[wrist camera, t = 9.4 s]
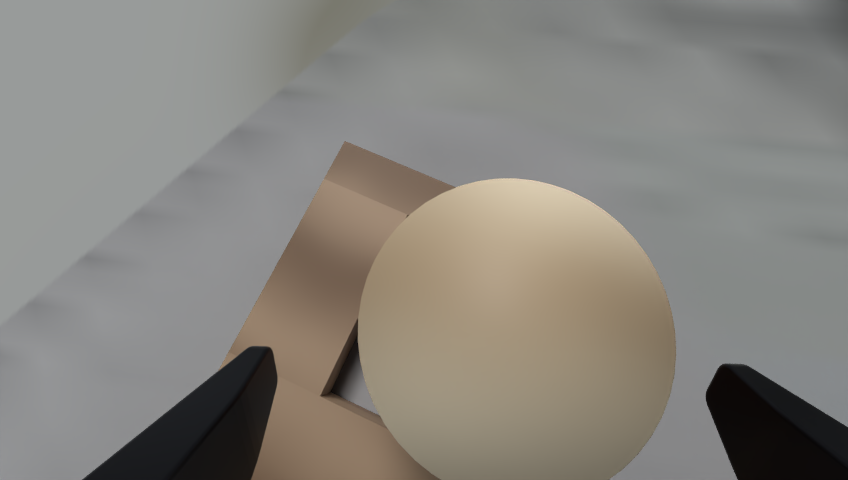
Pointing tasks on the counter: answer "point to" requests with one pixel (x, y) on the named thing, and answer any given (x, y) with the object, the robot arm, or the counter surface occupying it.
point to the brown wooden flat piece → (331, 325)
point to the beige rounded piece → (516, 336)
